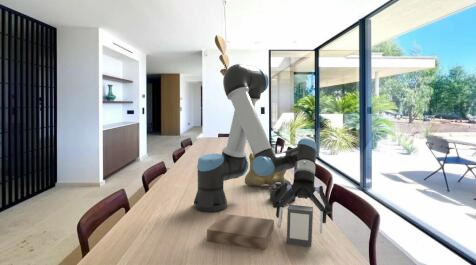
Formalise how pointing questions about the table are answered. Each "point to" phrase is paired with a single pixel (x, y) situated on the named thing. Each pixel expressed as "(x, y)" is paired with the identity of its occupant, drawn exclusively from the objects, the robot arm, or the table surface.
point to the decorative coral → (257, 180)
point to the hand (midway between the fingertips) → (299, 229)
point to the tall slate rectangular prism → (299, 225)
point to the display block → (241, 231)
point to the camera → (279, 190)
